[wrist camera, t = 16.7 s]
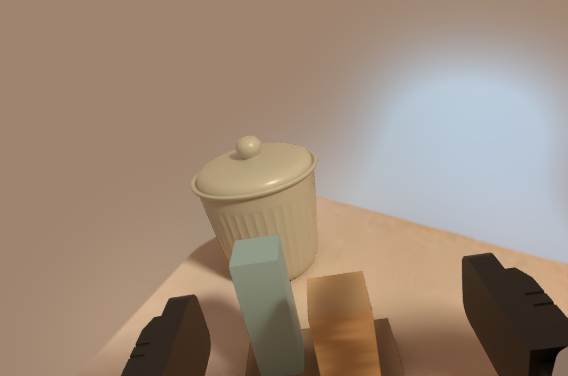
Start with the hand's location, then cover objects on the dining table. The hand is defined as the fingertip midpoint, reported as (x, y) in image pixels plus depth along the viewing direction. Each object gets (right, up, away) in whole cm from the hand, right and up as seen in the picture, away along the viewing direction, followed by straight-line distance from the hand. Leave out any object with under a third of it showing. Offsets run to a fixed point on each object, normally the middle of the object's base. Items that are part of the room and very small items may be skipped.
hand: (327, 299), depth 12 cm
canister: (-2, -9, +52) cm, 53 cm away
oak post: (+5, -17, +24) cm, 30 cm away
